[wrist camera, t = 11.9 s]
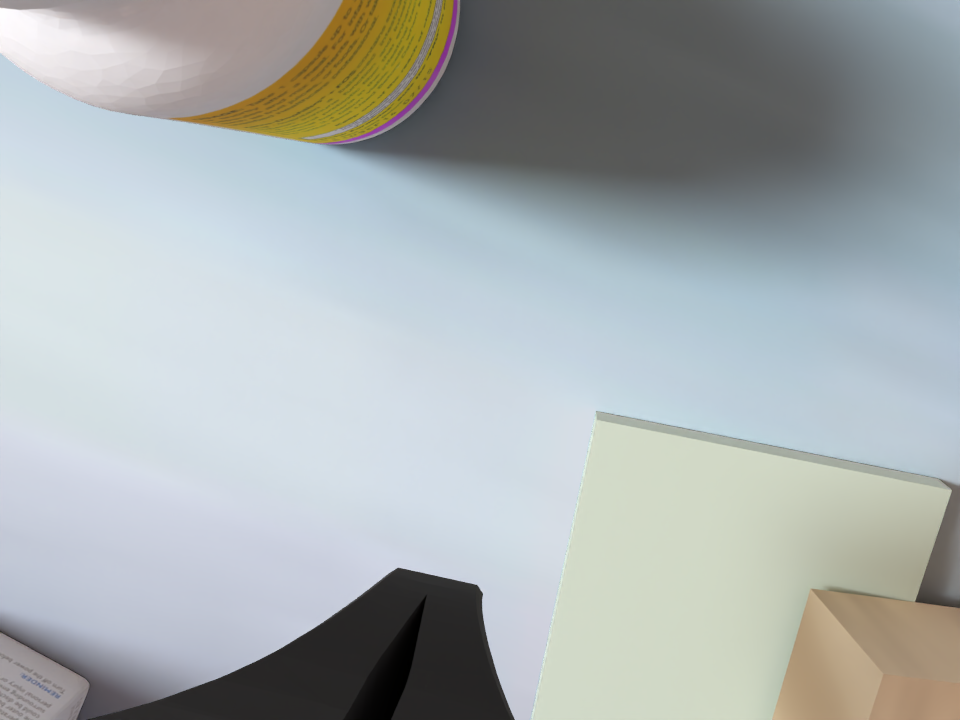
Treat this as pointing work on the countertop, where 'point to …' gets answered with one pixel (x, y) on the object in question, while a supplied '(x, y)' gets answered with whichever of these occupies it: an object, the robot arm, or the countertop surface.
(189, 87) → the supplement bottle
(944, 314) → the countertop surface
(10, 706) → the light bulb box
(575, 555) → the sage board
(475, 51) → the countertop surface
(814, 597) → the beech block
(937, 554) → the countertop surface
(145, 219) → the countertop surface
